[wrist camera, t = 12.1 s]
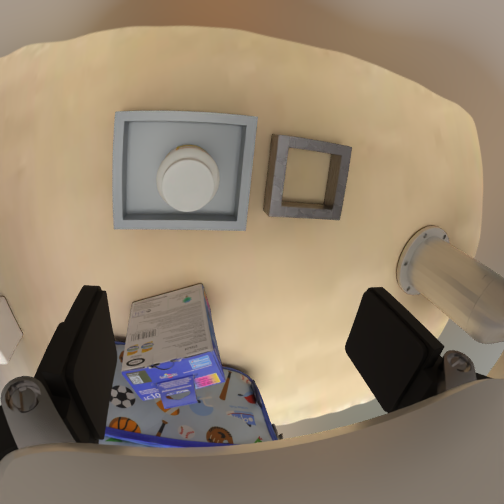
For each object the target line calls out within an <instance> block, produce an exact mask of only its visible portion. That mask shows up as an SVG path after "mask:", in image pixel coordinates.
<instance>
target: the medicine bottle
mask: <svg viewBox="0 0 504 504" xmlns="http://www.w3.org/2000/svg"><path fill="white" fill-rule="evenodd" d="M22 335H23V334H22V332H21V330H20V328H19V326H18V324H17V322H16V320H15V318H14V316H13V314H12V312H11V310H10V308H9V306H8V304H7V301H6V299H5V297H0V364H8V362H9V360H10V358H11V356H12V354H13V352H14V350H15V348H16V347H17V345H18V343H19V341H20V339H21V337H22Z"/></svg>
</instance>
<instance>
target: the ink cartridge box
mask: <svg viewBox="0 0 504 504" xmlns="http://www.w3.org/2000/svg"><path fill="white" fill-rule="evenodd" d="M121 372H122V375H123V376H124V378H125V379H126V380H127V382H128V383H129V384H130V385H131V387H132V388H133V389H134V391H135V392H136V393H137V395H138V396H139V397H140V398H141V399H142V400H143V401H145V400H151V399H155V398H160V397H161V400H162V403H163V406H164V409H168V408H173V407H178V406H184V405H189V404H194V403H198V400H197V395H196V390H195V389H200V388H204V387H207V386H211V385H215V384H219V383H223V382H226V379H225V376H224V372H223V368H222V364H221V359H220V355H219V350H218V346H217V341H216V337H215V333H214V328H213V322H212V317H211V309H210V306H209V303H208V299H207V296H206V293H205V290H204V287H203V285H202V284H198V285H195V286H191V287H187V288H184V289H180V290H177V291H173V292H170V293H166V294H162V295H159V296H155V297H152V298H148V299H144V300H141V301H137V302H134V303H132V308H131V313H130V319H129V324H128V330H127V337H126V343H125V349H124V355H123V362H122V369H121ZM187 391H190V394H189V395H188V396H185V397H184V398H182V399H179V400H177V399H175V400H174V399H168V398H167V397H166V396H170V395H174V394H179V393H183V392H187Z"/></svg>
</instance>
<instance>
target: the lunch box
mask: <svg viewBox="0 0 504 504" xmlns="http://www.w3.org/2000/svg"><path fill="white" fill-rule="evenodd" d="M115 345H116V350H117V365H116V370H115V375H114V380H113V385H112V391H111V397H110V403H109V409H108V415H107V422H106V430H105V437H104V439H103V440H99V444H104V445H121V446H135V447H160V448H186V447H216V446H230V445H242V444H251V443H260V442H267V441H274V440H281V439H283V434H280V435H278V432H277V430H276V427H275V424H272V425H271V422H270V419H269V416H268V413H267V411H266V408H265V405H264V402H263V399H262V397H261V394H260V392H259V389H258V387H257V386H256V383H255V381H254V380H252V379H251V378H250V377H249V376H248V375H246V374H245V373H243V372H241V371H239V370H236V369H233V368H229V367H226V366H222V368H223V372H224V376H225V379H226V382H223V383H219V384H215V385H211V386H207V387H204V388H200V389H195V390H196V395H197V400H198V403H194V404H189V405H184V406H178V407H173V408H168V409H164V406H163V403H162V400H161V397H160V398H155V399H151V400H145V401H143V400H142V399H141V398H140V397H139V396H138V395H137V393H136V392H135V391H134V389H133V388H132V387H131V385H130V384H129V383H128V382H127V380H126V379H125V378H124V376H123V375H122V372H121V369H122V362H123V355H124V349H125V343H124V342H118V341H115ZM189 394H190V391H187V392H183V393H179V394H174V395H170V396H166V397H167V398H168V399H174V400H175V399H177V400H179V399H182V398H184V397H185V396H188V395H189Z"/></svg>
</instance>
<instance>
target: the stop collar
mask: <svg viewBox="0 0 504 504" xmlns="http://www.w3.org/2000/svg"><path fill="white" fill-rule="evenodd" d="M289 147H291V148H298V149H305V150H312V151H318V152H325V153H331V161H330V168H329V175H328V181H327V187H326V193H325V199H324V204H313V203H300V202H285V201H282V195H283V187H284V180H285V172H286V164H287V156H288V148H289ZM351 151H352V147H349V146H344V145H339V144H334V143H329V142H323V141H317V140H312V139H305V138H299V137H292V136H285V135H277V134H272V139H271V148H270V156H269V165H268V173H267V182H266V190H265V199H264V207H263V211H264V212H265V213H266V214H267V215H268V216H272V217H293V218H311V219H328V220H340V216H341V211H342V205H343V200H344V194H345V189H346V183H347V177H348V171H349V164H350V158H351Z"/></svg>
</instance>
